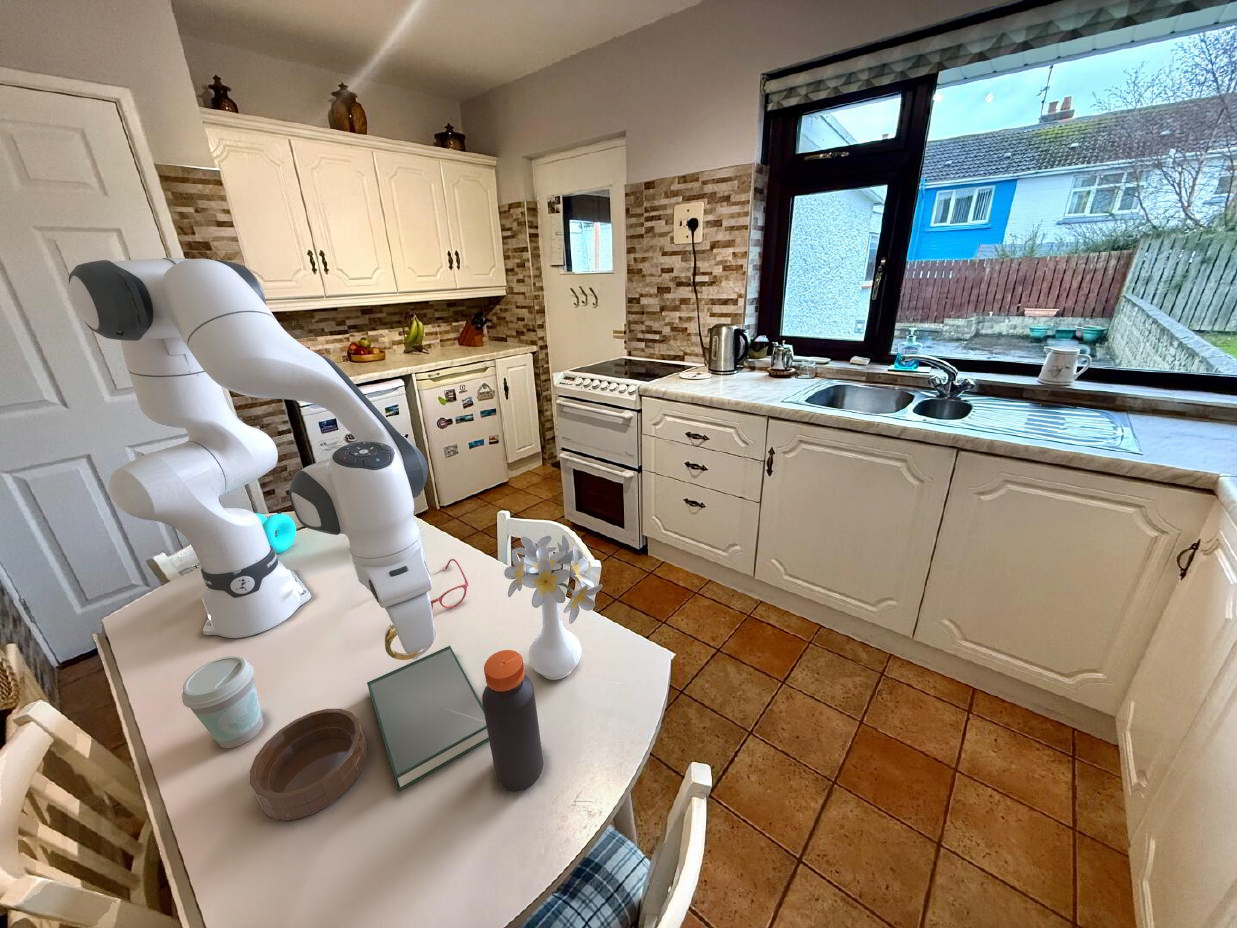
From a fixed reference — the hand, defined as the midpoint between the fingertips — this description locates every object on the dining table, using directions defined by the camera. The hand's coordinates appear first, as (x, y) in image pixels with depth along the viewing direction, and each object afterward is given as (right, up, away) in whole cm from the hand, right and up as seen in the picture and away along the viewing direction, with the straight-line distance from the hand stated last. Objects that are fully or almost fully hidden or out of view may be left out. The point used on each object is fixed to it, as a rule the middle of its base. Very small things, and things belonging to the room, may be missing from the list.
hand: (410, 636), depth 72 cm
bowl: (-13, -19, -2) cm, 23 cm away
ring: (0, -4, +2) cm, 4 cm away
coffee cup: (-29, -17, +5) cm, 34 cm away
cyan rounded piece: (-59, +3, +54) cm, 80 cm away
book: (0, -15, +6) cm, 16 cm away
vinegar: (+17, -18, -2) cm, 25 cm away
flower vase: (+21, -11, +15) cm, 28 cm away
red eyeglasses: (-11, -4, +34) cm, 36 cm away
